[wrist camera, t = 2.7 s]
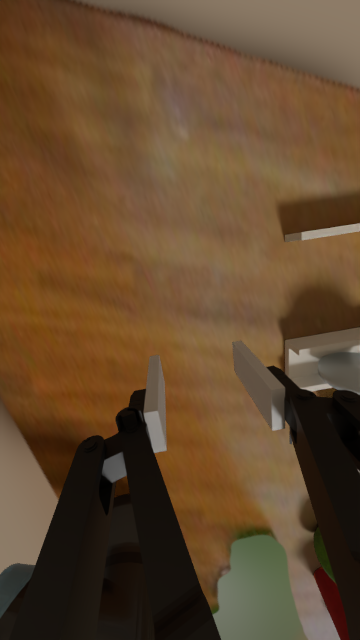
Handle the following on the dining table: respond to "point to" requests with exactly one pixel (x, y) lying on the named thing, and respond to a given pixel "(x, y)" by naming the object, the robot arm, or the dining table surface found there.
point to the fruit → (322, 554)
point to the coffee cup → (332, 601)
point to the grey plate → (341, 370)
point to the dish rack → (311, 349)
